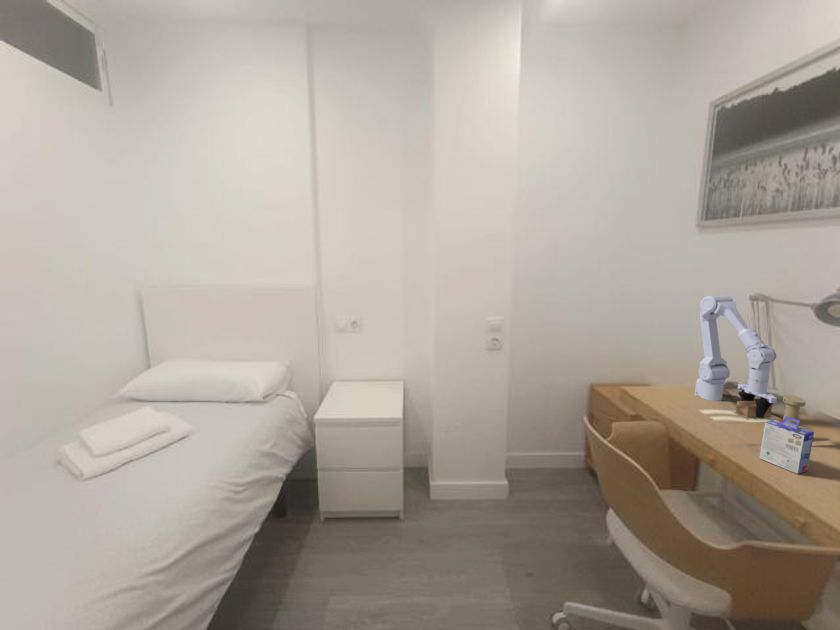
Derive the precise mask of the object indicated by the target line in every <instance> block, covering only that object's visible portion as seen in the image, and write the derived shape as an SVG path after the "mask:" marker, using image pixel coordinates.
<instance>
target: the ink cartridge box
mask: <svg viewBox="0 0 840 630" xmlns="http://www.w3.org/2000/svg"><path fill="white" fill-rule="evenodd" d="M783 418H784V417H783ZM786 420H792V421H794V422H796V423H797V424H792V423H789V422H787V421H786ZM800 423H801V420H797V419H793V418H790V417H787V416H785V418H784V420H783V421H777V420H771V421H768V422H764V427H763V434H762V439H761V446H760V453H759V459H760V460H763V461H765V462H768V463H769V464H773V465H775V466H777V467H780V468H781V469H784V470H787V471H789V472H792V473H794V474H798V475H799V474H801V473H802V474H803V473H805V472H808V470H809V464H810V458H811V452H812V447H813V441H814V436H815V435H814V434H815V432H814V431H813V430H809V429H805V428H803V427H799V425H800Z"/></svg>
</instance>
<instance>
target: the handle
mask: <svg viewBox="0 0 840 630" xmlns="http://www.w3.org/2000/svg"><path fill="white" fill-rule="evenodd" d="M782 401H783V403H784V404H786V406H785V409H784V415H783V418H782V419H783V420H784V418H785V416H787V417H790V418H793V419H797V420H799V419H800V409H801V407H805V406H806V403H807V402H806V400H805V399H804V398H802V397H800V396H796V395H791V394H783V395H782ZM786 421H787V422H789V423H792V424H797V423H796V422H794V421H792V420H786Z"/></svg>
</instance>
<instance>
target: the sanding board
mask: <svg viewBox="0 0 840 630" xmlns="http://www.w3.org/2000/svg"><path fill="white" fill-rule="evenodd" d="M697 411H698V412H700V413H702V414H704V415H705V416H707V417H708V418H710V419H712V420H714V421H716V422H717V423H719V424H721V425H728V424H731V425H732V424H749V423H750V424H751V423H765V422H768V421H771V420H777V421H781V422H783V418H780V417H778V416H776V415H774V414H772V413H771V417H763V418H745V417H744V416H742V415H740V414H738V413H736V407H735V408H715V409H714V408H713V409H712V408H711V409H710V408H709V409H697Z"/></svg>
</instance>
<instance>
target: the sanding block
mask: <svg viewBox="0 0 840 630" xmlns="http://www.w3.org/2000/svg"><path fill="white" fill-rule="evenodd" d="M735 408H736V413H738V414H740V415H742V416H744V417H745V418H758V417H757V416H756V411H757V407H756V402H755V400H753V401H742V400H740V401H739V400H738V401H736V406H735ZM772 410H773V404H772V405H771V406H770V407H769V408H768V410H767V411H766V413H765V415H764V417H771V414H772ZM759 418H763V417H759Z"/></svg>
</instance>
